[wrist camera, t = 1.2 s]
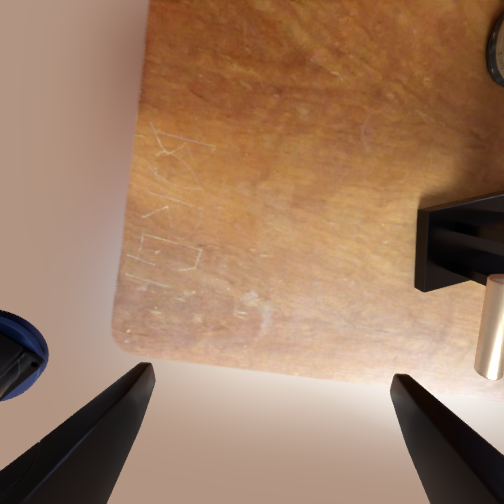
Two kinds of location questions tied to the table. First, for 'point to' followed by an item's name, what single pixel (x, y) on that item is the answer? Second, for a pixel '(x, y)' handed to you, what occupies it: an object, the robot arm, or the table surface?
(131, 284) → the table surface
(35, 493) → the robot arm
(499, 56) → the pill bottle
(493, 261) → the switch bracket
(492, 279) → the switch lever
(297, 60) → the table surface
